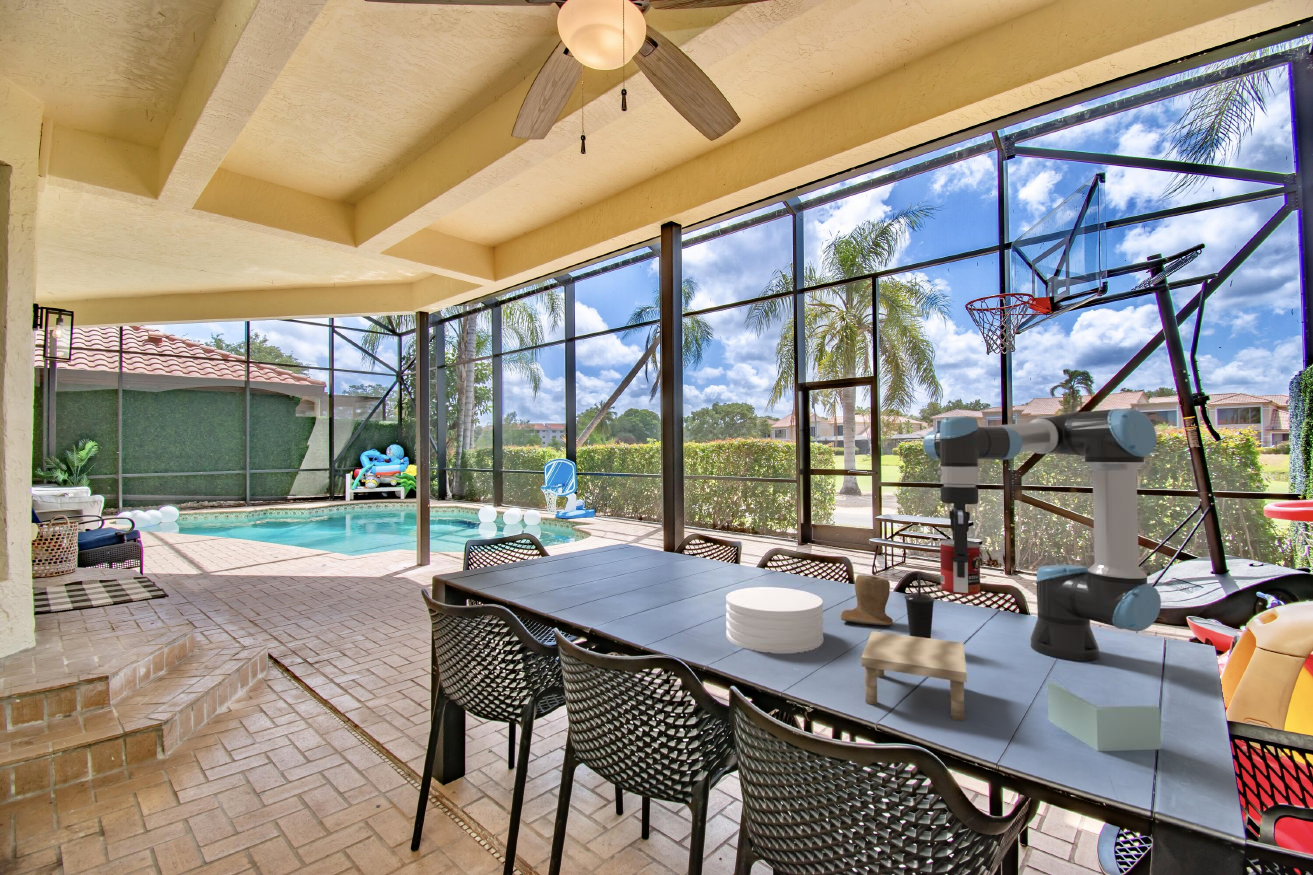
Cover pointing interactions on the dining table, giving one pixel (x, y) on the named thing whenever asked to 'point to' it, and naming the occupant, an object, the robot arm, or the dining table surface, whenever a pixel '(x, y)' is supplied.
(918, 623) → the drinking cup
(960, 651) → the footstool
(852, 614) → the brown suede boots
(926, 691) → the dining table surface
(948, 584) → the canned food
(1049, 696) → the right angle wall
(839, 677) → the dining table surface
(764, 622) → the plate stack
